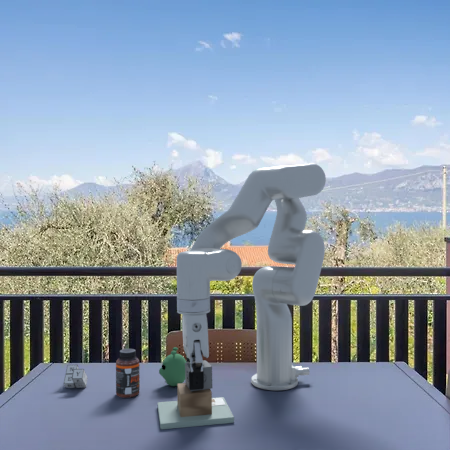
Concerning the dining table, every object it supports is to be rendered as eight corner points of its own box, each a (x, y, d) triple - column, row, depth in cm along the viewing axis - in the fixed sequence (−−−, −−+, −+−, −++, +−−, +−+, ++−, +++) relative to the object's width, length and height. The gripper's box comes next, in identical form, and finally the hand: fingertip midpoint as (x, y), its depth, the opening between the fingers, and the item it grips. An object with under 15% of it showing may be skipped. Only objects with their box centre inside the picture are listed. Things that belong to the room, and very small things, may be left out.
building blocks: (67, 392, 129) (61, 378, 123) (71, 374, 132) (65, 359, 126) (87, 392, 129) (82, 378, 123) (91, 373, 132) (85, 359, 127)
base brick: (207, 402, 113) (206, 381, 113) (211, 414, 106) (211, 392, 106) (177, 404, 111) (177, 383, 111) (180, 417, 105) (180, 394, 104)
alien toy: (160, 381, 131) (160, 345, 131) (188, 380, 131) (188, 344, 131) (157, 390, 124) (157, 352, 124) (187, 390, 124) (186, 352, 124)
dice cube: (191, 391, 106) (190, 369, 106) (185, 384, 111) (184, 362, 110) (212, 388, 107) (211, 366, 107) (206, 381, 112) (205, 360, 112)
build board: (223, 401, 116) (223, 396, 116) (234, 422, 104) (234, 416, 104) (157, 407, 113) (157, 401, 113) (160, 429, 101) (160, 423, 101)
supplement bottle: (134, 399, 118) (133, 354, 118) (112, 398, 119) (111, 353, 119) (143, 391, 124) (142, 347, 124) (121, 389, 125) (121, 346, 125)
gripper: (216, 312, 101) (217, 396, 101) (204, 298, 117) (205, 371, 118) (181, 313, 99) (182, 399, 100) (173, 299, 116) (174, 373, 116)
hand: (194, 383), depth 109 cm, fingers closed on dice cube, 5 cm apart
